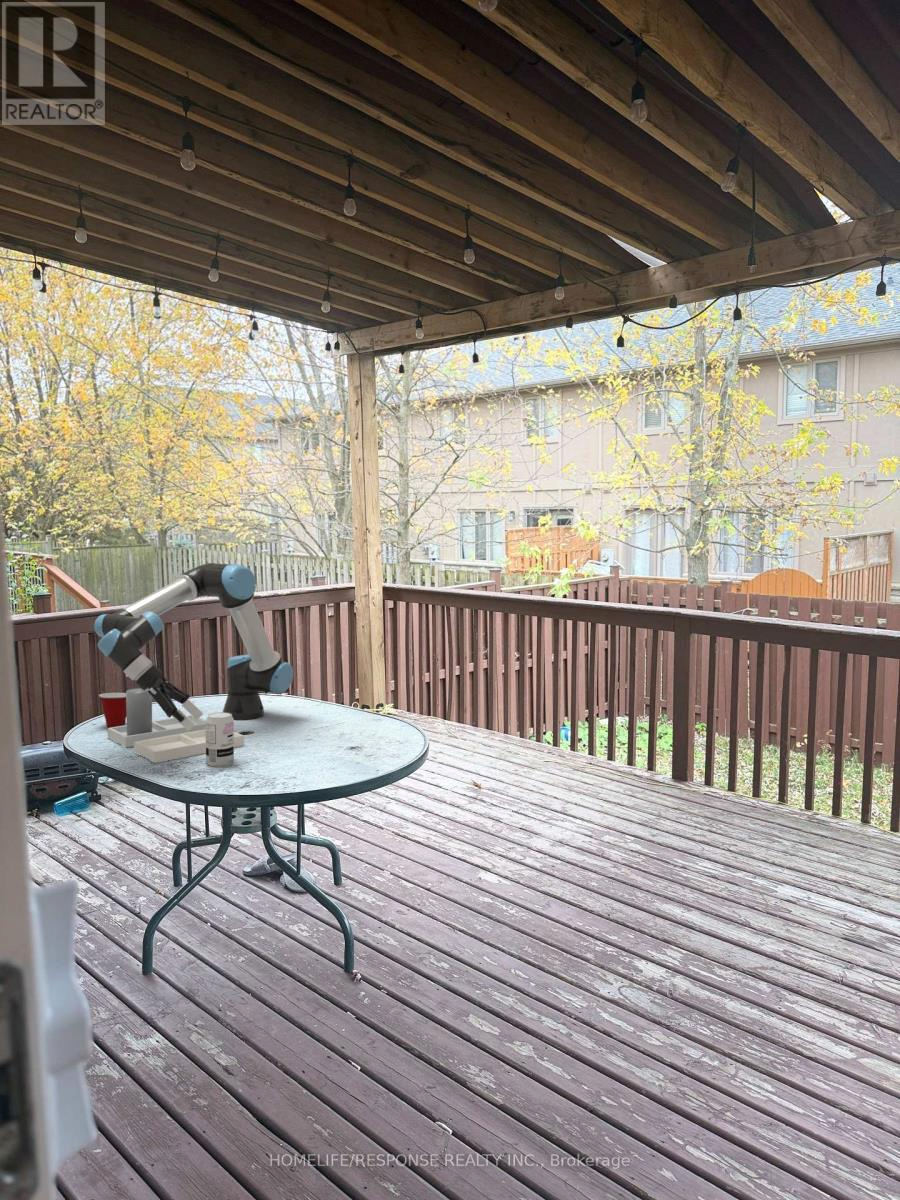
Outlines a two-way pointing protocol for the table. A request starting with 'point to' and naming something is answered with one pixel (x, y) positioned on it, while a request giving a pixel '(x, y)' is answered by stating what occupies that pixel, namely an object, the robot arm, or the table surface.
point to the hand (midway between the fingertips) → (196, 722)
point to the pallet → (177, 746)
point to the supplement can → (219, 739)
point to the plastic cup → (114, 709)
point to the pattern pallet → (156, 730)
